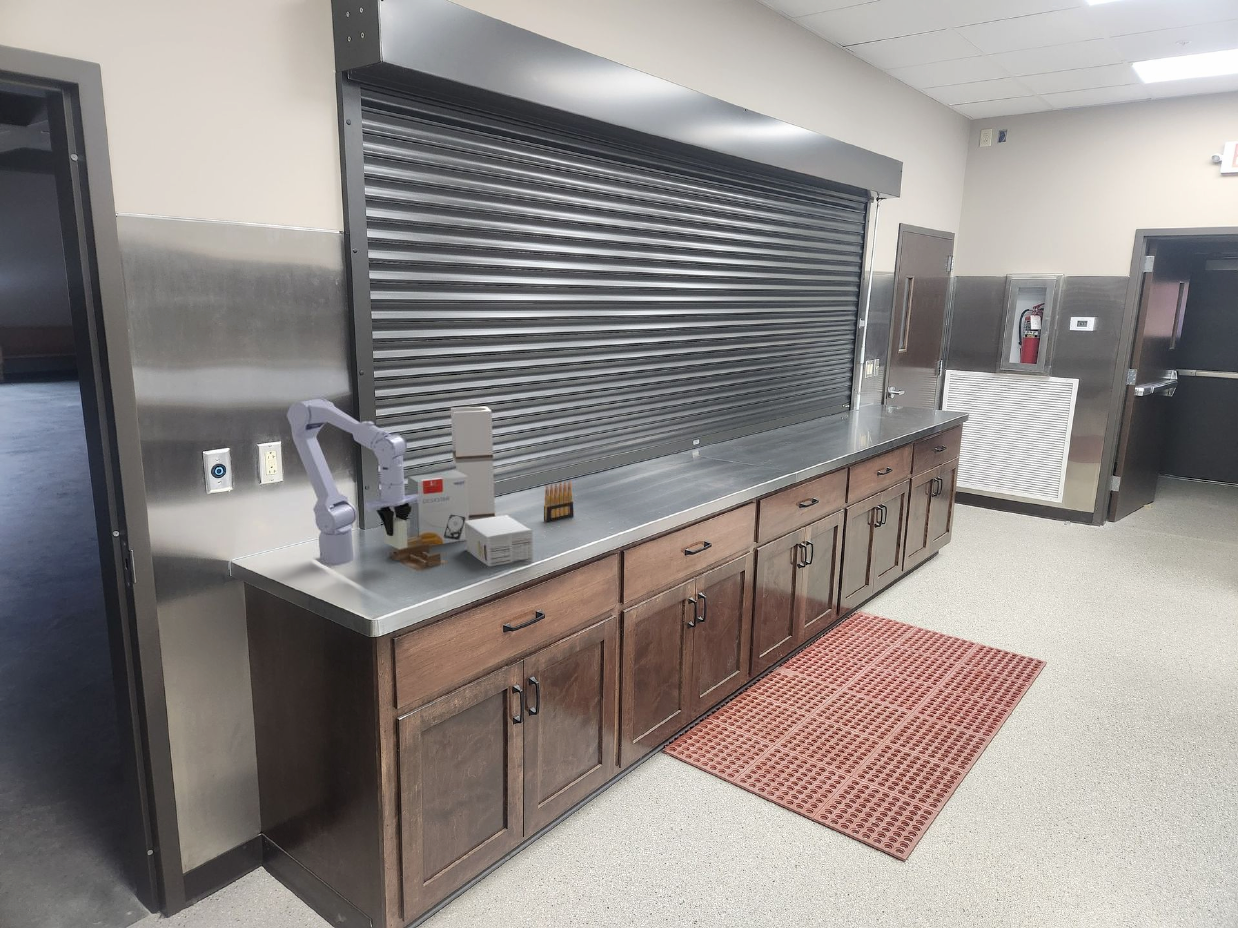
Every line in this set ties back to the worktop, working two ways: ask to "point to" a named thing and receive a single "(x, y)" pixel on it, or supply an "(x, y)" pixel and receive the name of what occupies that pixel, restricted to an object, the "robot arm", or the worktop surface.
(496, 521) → the supplement box
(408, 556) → the rack
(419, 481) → the hard drive box
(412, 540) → the offcut upper
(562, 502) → the ammunition clip
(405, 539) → the panel
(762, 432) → the worktop surface
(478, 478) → the tall banded white pillar
